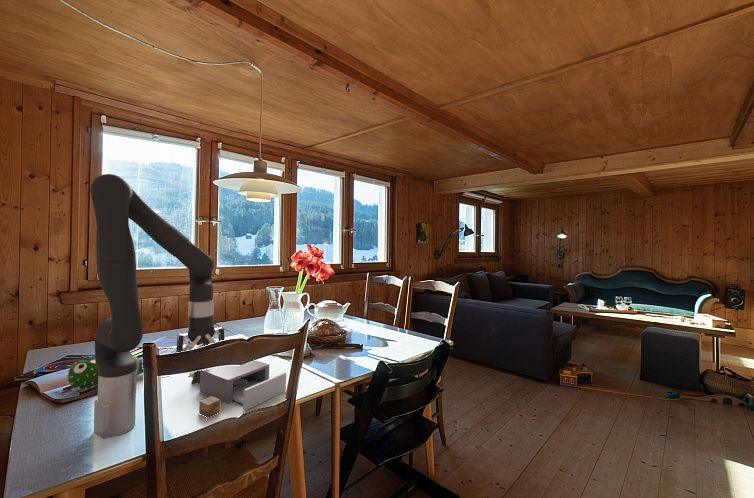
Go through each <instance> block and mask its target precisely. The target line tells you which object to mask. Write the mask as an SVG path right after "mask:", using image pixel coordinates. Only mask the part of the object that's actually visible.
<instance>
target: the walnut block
mask: <svg viewBox="0 0 754 498" xmlns="http://www.w3.org/2000/svg"><path fill="white" fill-rule="evenodd" d="M198 409H199V410H198V411H199V412H198V414H199V413H200V414H202V415H204V416H206V417H207V418H206V417H205V418H206V419H209V418H211V416H212V417H214V416H216V415H218V414H220V413H221V401H220V399H218V398H215V397H213V396H211V397H210V396H208V397H206V398H204V399H202V400H199V408H198ZM219 412H220V413H219ZM217 413H218V414H217ZM215 414H216V415H215ZM202 415H201V416H202ZM213 415H214V416H213ZM204 416H203V417H204ZM208 417H209V418H208Z"/></svg>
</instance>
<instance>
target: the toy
mask: <svg viewBox="0 0 754 498" xmlns="http://www.w3.org/2000/svg"><path fill="white" fill-rule="evenodd" d="M133 357H134V358H135V359H136V362H137V373H136V379H137V378H138V376H139V375H142V374H143V369H142V359H143V358H139V357H138V356H133ZM66 377H67V378H68V381H67V385H70V386H71V387H73V390H76V389H78V390H85V391H87V390H88V389H91V387H92V389H93V388H95V387H96V386H98V368H97V366H96V362H95V359H93V360H92V359H90V360H89V359H82V360H79V361H75V362H74V364H73V365H72V366H71V367H68V374H67V375H65V378H66ZM87 388H88V389H87Z"/></svg>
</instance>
